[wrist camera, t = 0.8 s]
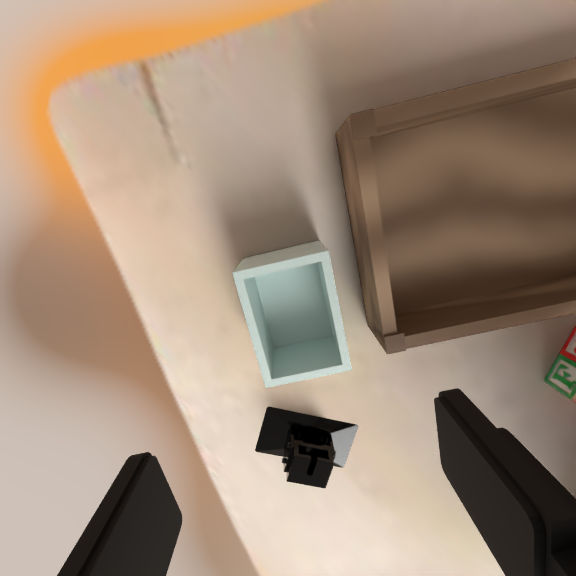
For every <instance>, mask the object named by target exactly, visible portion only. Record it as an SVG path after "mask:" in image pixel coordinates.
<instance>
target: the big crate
mask: <svg viewBox="0 0 576 576" xmlns="http://www.w3.org/2000/svg"><path fill="white" fill-rule="evenodd" d="M335 135H336V141H337V147H338V152H339V158H340V164H341V170H342V176H343V182H344V188H345V194H346V199H347V205H348V211H349V217H350V223H351V229H352V235H353V240H354V246H355V252H356V258H357V264H358V270H359V276H360V281H361V287H362V293H363V299H364V305H365V311H366V317H367V322H368V327H369V328H370V330H371V331H372V333H373V334H374V335H375V337H376V338H377V340H378V341H379V343H380V344H381V346H382V347H383V349H384V350H385V352H386V353H387V354H391V353H396V352H401V351H405V350H406V349H408V348H412V347H417V346H422V345H427V344H431V343H436V342H441V341H446V340H450V339H455V338H460V337H465V336H469V335H474V334H479V333H484V332H488V331H493V330H498V329H503V328H507V327H512V326H517V325H522V324H526V323H531V322H536V321H541V320H546V319H550V318H555V317H560V316H565V315H569V314H574V313H576V58H574V59H570V60H566V61H562V62H558V63H554V64H550V65H546V66H542V67H538V68H534V69H530V70H526V71H523V72H519V73H515V74H511V75H507V76H503V77H499V78H495V79H491V80H487V81H483V82H479V83H475V84H472V85H468V86H464V87H460V88H456V89H452V90H448V91H444V92H440V93H436V94H432V95H428V96H424V97H420V98H417V99H413V100H409V101H405V102H401V103H397V104H393V105H389V106H385V107H381V108H377V109H370V110H366V111H362V112H359V113H355V114H351V115H349V117H348V118H347V119H346V121H345V122H344V123H343V125H342V126H341V128H340V129H339V130H338V132H337V133H336V134H335Z"/></svg>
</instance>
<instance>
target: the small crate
mask: <svg viewBox="0 0 576 576" xmlns="http://www.w3.org/2000/svg"><path fill="white" fill-rule="evenodd" d="M232 274H233V277H234V281H235V284H236V288H237V291H238V295H239V298H240V302H241V305H242V308H243V312H244V315H245V319H246V322H247V326H248V329H249V332H250V336H251V339H252V343H253V346H254V350H255V353H256V356H257V360H258V363H259V367H260V370H261V374H262V377H263V380H264V384H265V387H266V388H269V387H274V386H278V385H283V384H288V383H293V382H298V381H302V380H307V379H312V378H317V377H322V376H326V375H331V374H336V373H341V372H346V371H350V370H352V367H351V362H350V357H349V351H348V346H347V341H346V336H345V331H344V326H343V321H342V316H341V311H340V305H339V300H338V295H337V290H336V285H335V280H334V275H333V270H332V264H331V259H330V254H329V250H328V249H327V248H326V247H325V246H324V245H323V244H322V243H321V242H320V240H319V241H314V242H310V243H306V244H302V245H297V246H293V247H289V248H284V249H280V250H276V251H272V252H267V253H263V254H259V255H254V256H250V257H246V258H243V259H242V261H241V262H240V263H239V264H238V266H237V267H236V268H235V270H234V271H233V272H232Z"/></svg>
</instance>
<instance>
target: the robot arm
mask: <svg viewBox="0 0 576 576" xmlns="http://www.w3.org/2000/svg"><path fill="white" fill-rule="evenodd" d="M434 403H435V412H436V422H437V431H438V440H439V449H440V458H441V465H442V468H443V471H444V473H445V475H446V477H447V478H448V480H449V482H450V483H451V485H452V487H453V488H454V490H455V492H456V493H457V495H458V497H459V498H460V500H461V502H462V503H463V505H464V507H465V509H466V510H467V512H468V514H469V515H470V517H471V519H472V520H473V522H474V524H475V525H476V527H477V529H478V530H479V532H480V534H481V535H482V537H483V539H484V540H485V542H486V544H487V545H488V547H489V549H490V551H491V552H492V554H493V556H494V557H495V559H496V561H497V562H498V564H499V566H500V567H501V569H502V571H503V572H504V574H505V576H576V499H575V498H574V497H573V496H572V495H571V494H570V493H569V492H568V491H567V490H566V489H565V488H564V487H563V486H562V484H561V483H560V482H559V481H558V480H557V479H556V478H555V477H554V476H553V475H552V474H551V473H550V472H549V471H548V470H547V469H546V468H545V467H544V466H543V465H542V464H541V463H540V462H539V461H538V460H537V459H536V458H535V457H534V456H533V455H532V454H531V453H530V452H529V451H528V450H527V449H526V448H525V447H524V446H523V445H522V444H521V443H520V442H519V441H518V440H517V439H516V438H515V437H514V436H513V435H512V434H511V433H510V432H509V431H508V430H506V429H504V428H496V427H495V426H494V425H493V424H492V423H491V422H490V421H489V420H488V418H487V417H486V416H485V415H484V414H483V413H482V412H481V411H480V410H479V409H478V408H477V407H476V406H475V405H474V404H473V403H472V402H471V400H470V399H469V398H468V397H467V396H466V395H465V394H464V393H463V392H462V391H461V390H460V389H458V388H457V389H452V390H447V391H442V392H439V397H437V398H435V399H434ZM181 525H182V514H181V511H180V509H179V507H178V504H177V502H176V500H175V498H174V496H173V493H172V491H171V489H170V487H169V484H168V482H167V480H166V478H165V476H164V473H163V471H162V469H161V467H160V464H159V462H158V460H157V458H156V457H155V456H152V455H151V454H150V453H149V452H146V453H141V454H136V455H132V456H130V457H129V458H128V459H127V460H126V462H125V464H124V466H123V467H122V469H121V470H120V472H119V474H118V475H117V477H116V479H115V480H114V482H113V484H112V485H111V487H110V489H109V490H108V492H107V494H106V495H105V497H104V499H103V500H102V502H101V504H100V505H99V507H98V509H97V510H96V512H95V514H94V515H93V517H92V519H91V520H90V522H89V524H88V525H87V527H86V529H85V530H84V532H83V534H82V535H81V537H80V539H79V540H78V542H77V544H76V545H75V547H74V549H73V550H72V552H71V554H70V555H69V557H68V558H67V560H66V562H65V563H64V565H63V567H62V568H61V570H60V572H59V573H58V575H57V576H166V574H167V570H168V567H169V564H170V561H171V558H172V554H173V551H174V548H175V545H176V542H177V538H178V535H179V532H180V529H181Z"/></svg>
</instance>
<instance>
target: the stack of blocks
mask: <svg viewBox="0 0 576 576" xmlns="http://www.w3.org/2000/svg"><path fill="white" fill-rule="evenodd" d="M544 381H545V382H546V383H547V384H549V385H550V386H552V387H553V388H554V389H556V390H557V391H558V392H560V393H561V394H563V395H564V396H565V397H567V398H568V399H569V400H571V401H574V402H576V326H575V328H574V330H573V331H572V333H571V335H570V336H569V338H568V340H567V341H566V343H565V345H564V347H563V348H562V350H561V352H560V354H559V356H558V358H557V359H556V361H555V363H554V364H553V366H552V368H551V369H550V371H549V373H548V374H547V376H546V378H545V379H544Z"/></svg>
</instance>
